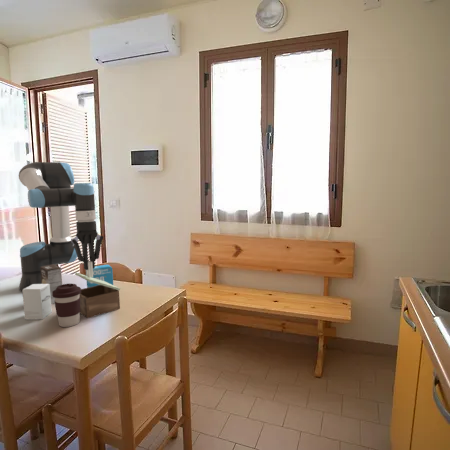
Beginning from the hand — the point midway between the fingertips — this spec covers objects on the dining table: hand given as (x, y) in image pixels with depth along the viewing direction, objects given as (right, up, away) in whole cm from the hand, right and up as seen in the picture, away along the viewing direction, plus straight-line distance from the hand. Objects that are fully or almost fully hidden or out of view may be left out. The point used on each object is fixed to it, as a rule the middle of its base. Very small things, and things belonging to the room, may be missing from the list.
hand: (90, 276), depth 137 cm
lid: (+2, -3, +3) cm, 4 cm away
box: (+1, -14, +4) cm, 15 cm away
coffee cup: (-4, -17, -11) cm, 20 cm away
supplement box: (-20, -16, -3) cm, 26 cm away
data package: (-7, -11, +29) cm, 32 cm away
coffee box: (-23, -14, +15) cm, 30 cm away
